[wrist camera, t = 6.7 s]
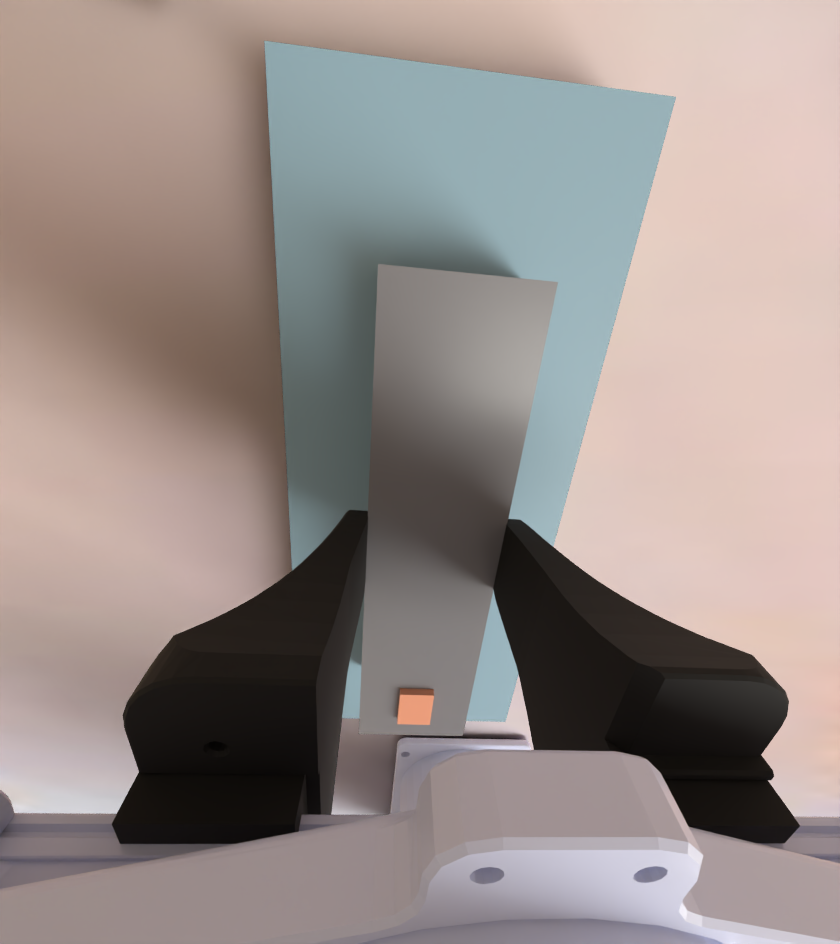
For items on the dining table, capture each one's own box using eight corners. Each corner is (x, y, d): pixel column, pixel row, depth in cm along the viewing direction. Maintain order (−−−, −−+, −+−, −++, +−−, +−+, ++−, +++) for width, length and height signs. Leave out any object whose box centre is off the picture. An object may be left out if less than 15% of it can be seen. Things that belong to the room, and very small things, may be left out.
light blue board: (495, 677, 23) (505, 721, 20) (310, 671, 22) (299, 717, 20) (626, 129, 12) (676, 96, 10) (290, 86, 12) (264, 40, 10)
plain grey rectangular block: (449, 634, 20) (463, 742, 16) (368, 631, 20) (357, 740, 15) (506, 280, 14) (562, 282, 9) (386, 268, 13) (377, 263, 9)
